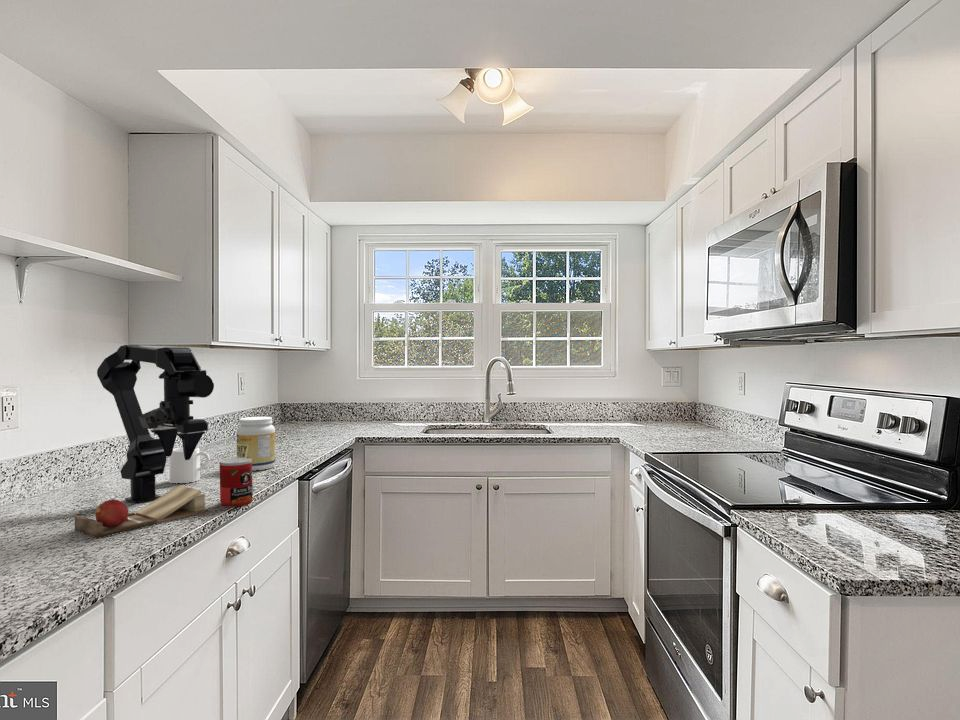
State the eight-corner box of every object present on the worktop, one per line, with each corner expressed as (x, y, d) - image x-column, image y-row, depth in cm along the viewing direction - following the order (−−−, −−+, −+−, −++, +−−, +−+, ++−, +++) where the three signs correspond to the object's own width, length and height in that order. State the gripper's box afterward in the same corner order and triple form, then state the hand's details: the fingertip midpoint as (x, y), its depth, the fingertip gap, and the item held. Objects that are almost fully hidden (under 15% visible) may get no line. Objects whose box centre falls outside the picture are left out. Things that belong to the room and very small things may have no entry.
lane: (74, 530, 124) (74, 516, 124) (180, 506, 143) (179, 494, 143) (97, 538, 118) (97, 524, 118) (204, 512, 137) (203, 500, 137)
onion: (112, 492, 121) (141, 503, 128) (89, 498, 122) (119, 508, 129) (105, 519, 118) (135, 529, 125) (82, 525, 119) (113, 534, 126)
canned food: (232, 508, 140) (232, 464, 140) (213, 504, 144) (212, 461, 144) (259, 501, 147) (258, 459, 147) (240, 498, 151) (239, 456, 151)
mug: (202, 484, 168) (202, 451, 168) (164, 484, 169) (163, 451, 169) (217, 478, 176) (216, 446, 176) (180, 478, 177) (179, 446, 177)
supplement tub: (230, 468, 191) (229, 418, 191) (263, 463, 201) (263, 415, 200) (248, 473, 183) (247, 420, 183) (282, 467, 193) (281, 417, 193)
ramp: (135, 516, 134) (135, 493, 134) (183, 506, 143) (182, 484, 143) (157, 523, 128) (157, 499, 128) (205, 511, 138) (204, 489, 138)
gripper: (125, 397, 143) (126, 459, 143) (162, 400, 132) (163, 467, 132) (170, 394, 152) (171, 453, 152) (208, 397, 141) (209, 459, 141)
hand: (177, 458), depth 144 cm, fingers open, 9 cm apart
